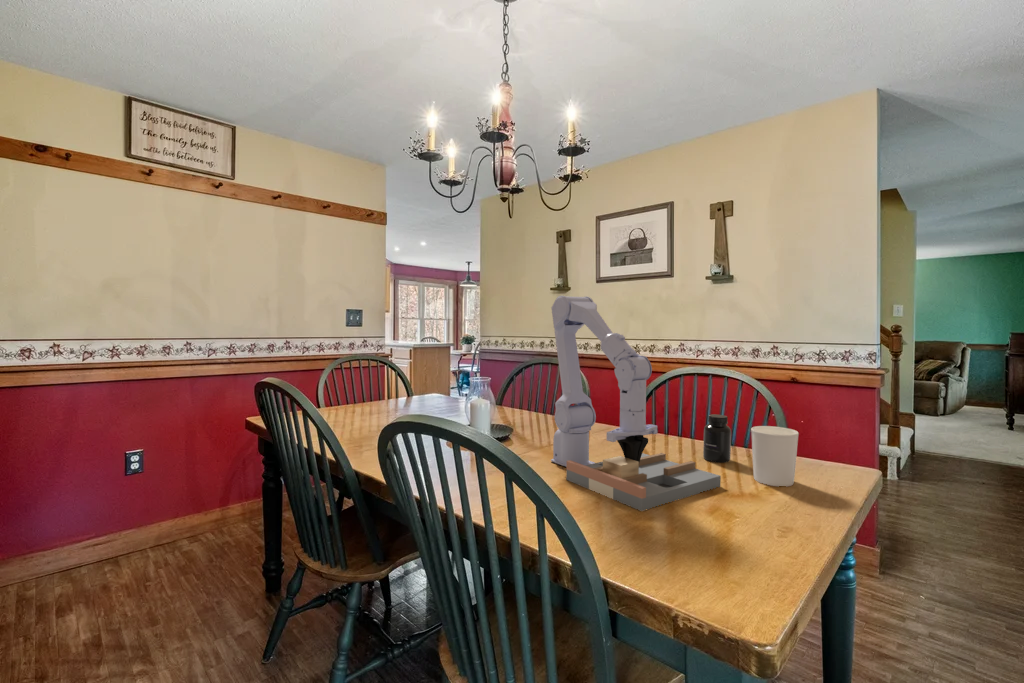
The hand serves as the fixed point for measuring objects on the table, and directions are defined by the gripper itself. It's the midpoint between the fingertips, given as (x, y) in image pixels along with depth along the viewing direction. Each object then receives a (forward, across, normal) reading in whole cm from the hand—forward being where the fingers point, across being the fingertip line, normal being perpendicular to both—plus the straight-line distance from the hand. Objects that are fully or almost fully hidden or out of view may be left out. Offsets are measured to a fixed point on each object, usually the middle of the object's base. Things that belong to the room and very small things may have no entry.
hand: (632, 468), depth 110 cm
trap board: (+4, +3, 0) cm, 5 cm away
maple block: (+1, -4, 0) cm, 4 cm away
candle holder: (+4, +30, -16) cm, 34 cm away
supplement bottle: (+4, +35, +2) cm, 35 cm away
